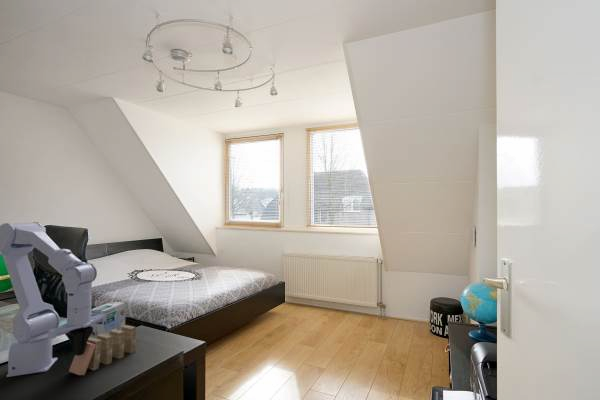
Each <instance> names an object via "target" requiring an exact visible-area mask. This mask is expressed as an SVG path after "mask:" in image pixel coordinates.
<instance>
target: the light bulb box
mask: <svg viewBox="0 0 600 400" xmlns="http://www.w3.org/2000/svg"><path fill="white" fill-rule="evenodd" d="M100 314H105V315H106V321H105V322H99V323H96V324H93V325H91V327H93V332H92V333H91V335H90V336H89V338H91V337H92V338H96V339H97V335H99V334H106V335H109V331H110V330H113V329H116V330H121V326H124V325H126V302H122V301H121V302H119V301H109V302H108V303H104V304H102V305H99V306H96V307H93V308H91V317H92V316H96V315H100Z"/></svg>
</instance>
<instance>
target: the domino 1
mask: <svg viewBox="0 0 600 400" xmlns="http://www.w3.org/2000/svg"><path fill="white" fill-rule="evenodd" d="M95 346H96V344H93V343H89V342H87V343H86V346H85V349H84V353H83V354H82V355H79V356H77V355H74V357H73V359H72V363H70V367H69V370H68V371H69V373H72V374H75V375H76V376H77V375H78V376H85V375H86V373H87V370H88V368H87V367H88V365H89V362H90V359H91V357H92V354H93V351H94V349H95Z"/></svg>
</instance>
